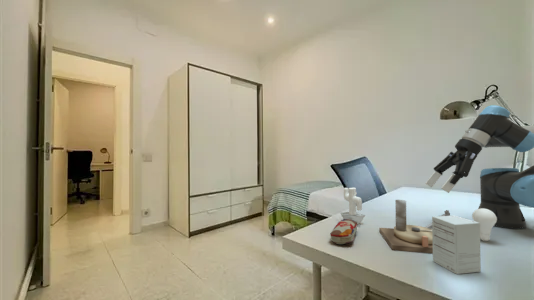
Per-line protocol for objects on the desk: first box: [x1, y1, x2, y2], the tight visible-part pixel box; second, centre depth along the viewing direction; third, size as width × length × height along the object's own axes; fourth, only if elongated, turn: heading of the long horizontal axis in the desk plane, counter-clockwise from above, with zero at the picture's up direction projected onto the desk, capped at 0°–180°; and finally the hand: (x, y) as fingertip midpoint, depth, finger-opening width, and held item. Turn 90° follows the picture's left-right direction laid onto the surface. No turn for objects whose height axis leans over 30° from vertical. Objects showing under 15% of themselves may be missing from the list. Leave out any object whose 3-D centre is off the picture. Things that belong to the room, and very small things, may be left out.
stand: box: [378, 227, 433, 254], centre depth 79 cm, size 19×17×2 cm
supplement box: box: [431, 214, 482, 275], centre depth 63 cm, size 7×7×13 cm
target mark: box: [422, 236, 428, 247], centre depth 72 cm, size 1×1×3 cm
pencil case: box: [329, 218, 358, 245], centre depth 85 cm, size 11×20×5 cm, turn 139°
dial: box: [393, 199, 433, 244], centre depth 79 cm, size 13×13×12 cm
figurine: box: [340, 187, 366, 225], centre depth 101 cm, size 7×9×15 cm
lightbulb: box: [471, 208, 497, 242], centre depth 80 cm, size 6×6×11 cm
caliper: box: [424, 209, 451, 229], centre depth 93 cm, size 21×1×6 cm, turn 118°
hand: (435, 187), depth 92 cm, fingers open, 13 cm apart
